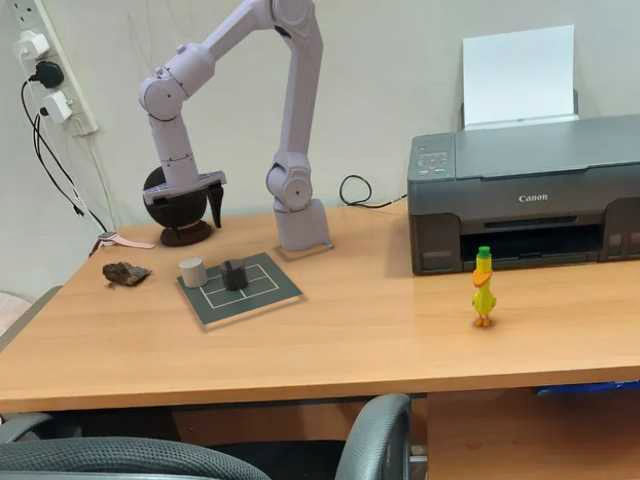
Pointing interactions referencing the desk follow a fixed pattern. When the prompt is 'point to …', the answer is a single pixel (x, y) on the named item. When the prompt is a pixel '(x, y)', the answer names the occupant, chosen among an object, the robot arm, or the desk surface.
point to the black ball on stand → (180, 213)
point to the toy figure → (483, 286)
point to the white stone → (193, 272)
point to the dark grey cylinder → (234, 274)
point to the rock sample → (124, 272)
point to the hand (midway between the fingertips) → (198, 232)
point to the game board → (261, 290)
